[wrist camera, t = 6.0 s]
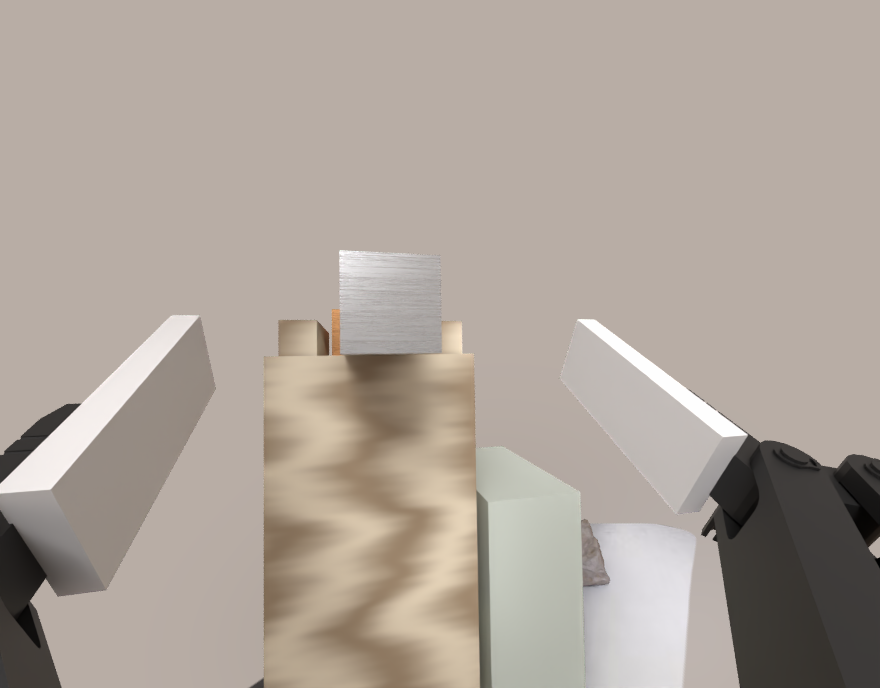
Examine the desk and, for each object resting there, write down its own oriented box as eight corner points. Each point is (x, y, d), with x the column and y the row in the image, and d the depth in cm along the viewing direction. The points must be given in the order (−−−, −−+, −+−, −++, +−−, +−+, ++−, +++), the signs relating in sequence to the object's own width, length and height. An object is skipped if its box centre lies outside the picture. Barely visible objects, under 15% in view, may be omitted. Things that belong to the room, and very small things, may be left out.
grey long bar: (308, 354, 12) (308, 248, 12) (335, 356, 34) (335, 317, 34) (468, 352, 13) (467, 257, 14) (396, 355, 35) (395, 318, 35)
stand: (264, 936, 19) (263, 319, 20) (296, 717, 31) (295, 333, 32) (482, 859, 22) (473, 321, 23) (437, 685, 34) (432, 333, 35)
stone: (552, 548, 57) (551, 510, 58) (609, 559, 54) (608, 519, 54) (541, 584, 48) (540, 539, 49) (609, 600, 45) (608, 552, 45)
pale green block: (494, 811, 24) (488, 502, 25) (442, 648, 38) (439, 451, 39) (587, 781, 26) (580, 491, 27) (506, 635, 40) (502, 446, 40)
